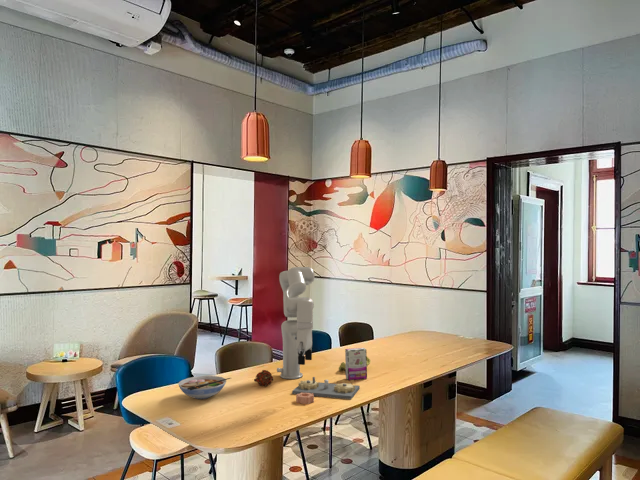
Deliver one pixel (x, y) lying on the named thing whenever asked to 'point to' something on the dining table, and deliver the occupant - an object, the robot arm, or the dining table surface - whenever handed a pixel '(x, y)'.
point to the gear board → (327, 389)
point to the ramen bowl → (202, 386)
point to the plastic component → (343, 365)
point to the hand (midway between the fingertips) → (305, 362)
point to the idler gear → (305, 398)
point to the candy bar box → (356, 363)
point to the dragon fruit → (264, 378)
